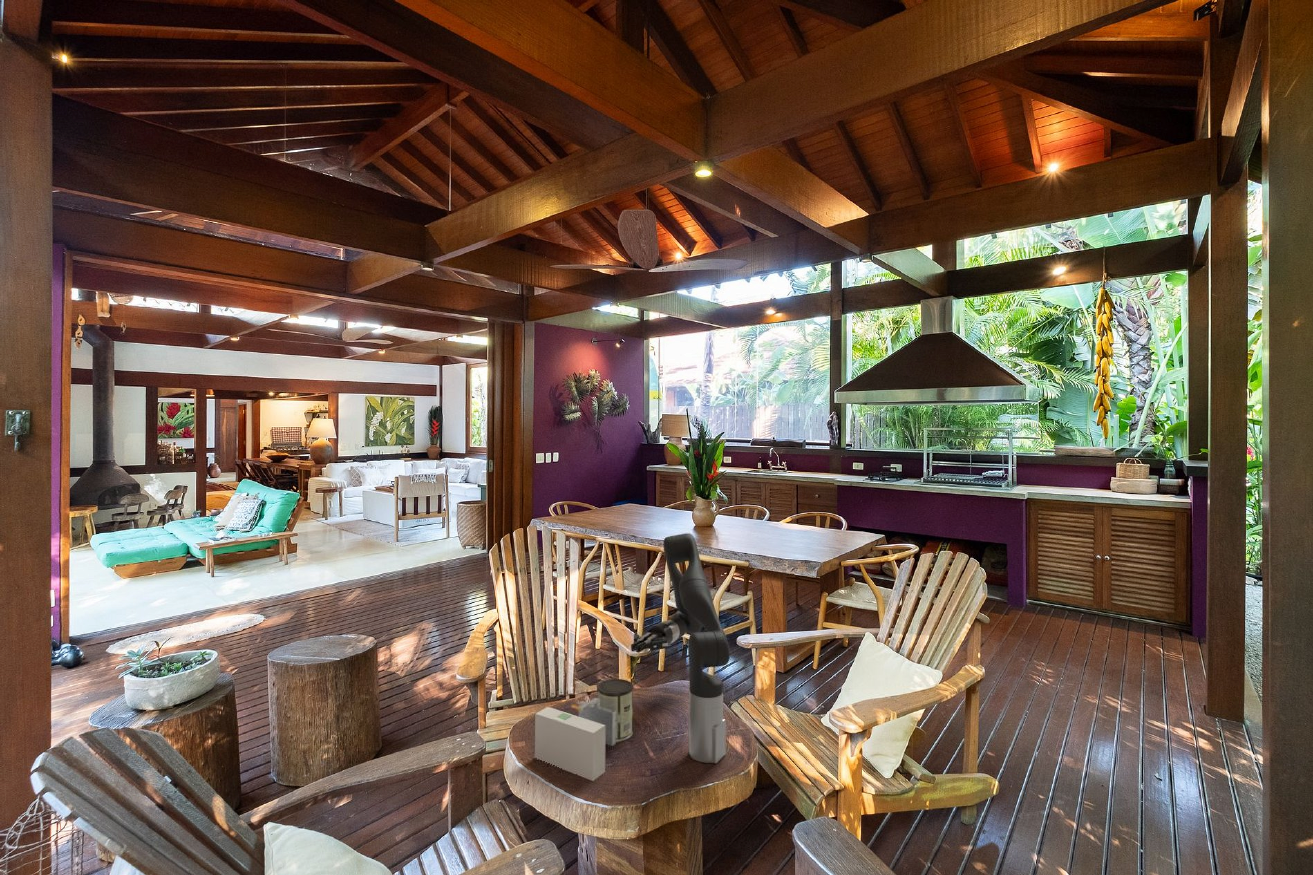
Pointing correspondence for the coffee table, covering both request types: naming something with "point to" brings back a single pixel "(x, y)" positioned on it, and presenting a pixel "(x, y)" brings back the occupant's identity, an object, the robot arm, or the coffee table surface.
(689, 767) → the coffee table surface
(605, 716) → the grey t-shaped bracket
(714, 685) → the robot arm
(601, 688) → the coffee can
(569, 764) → the gauge housing
